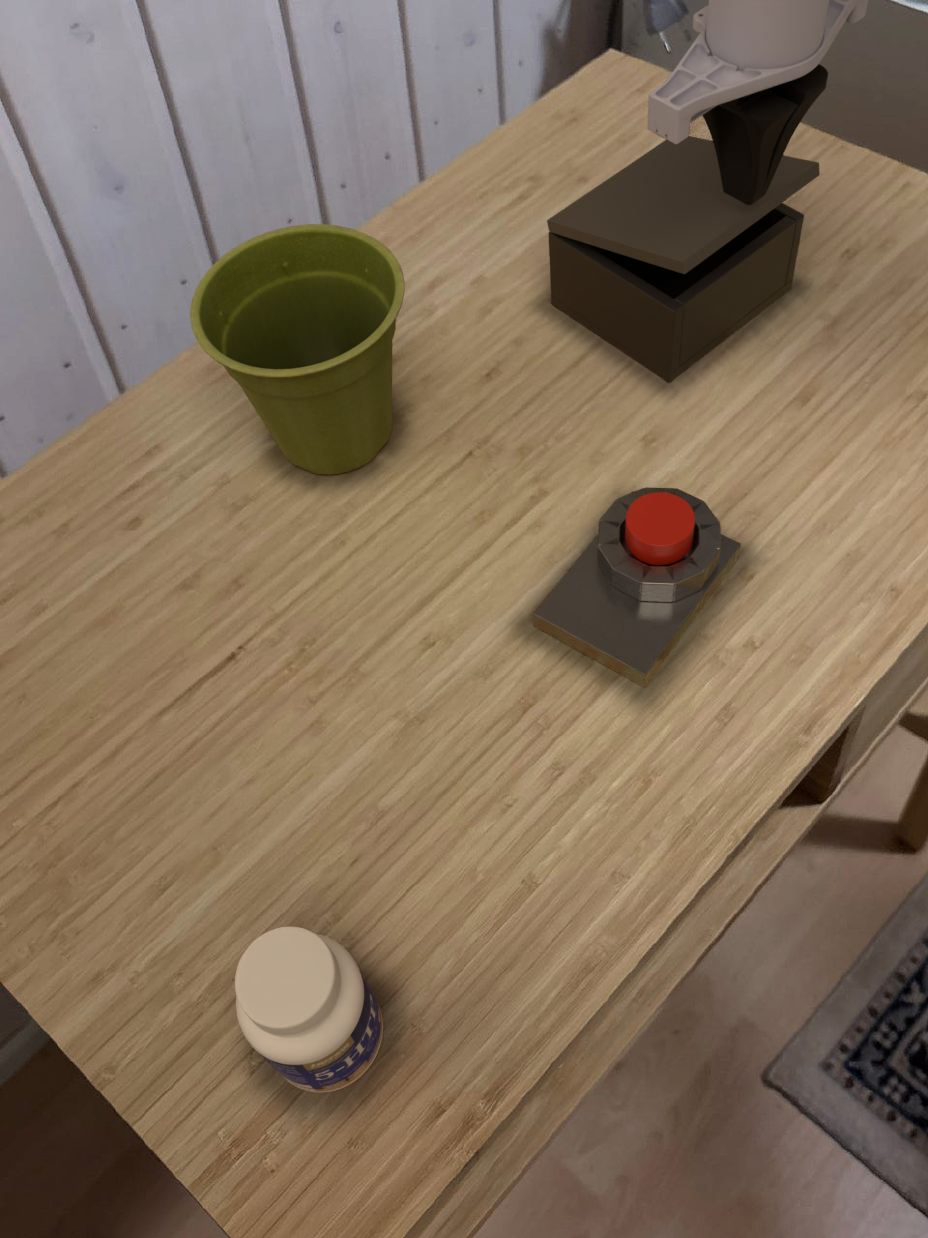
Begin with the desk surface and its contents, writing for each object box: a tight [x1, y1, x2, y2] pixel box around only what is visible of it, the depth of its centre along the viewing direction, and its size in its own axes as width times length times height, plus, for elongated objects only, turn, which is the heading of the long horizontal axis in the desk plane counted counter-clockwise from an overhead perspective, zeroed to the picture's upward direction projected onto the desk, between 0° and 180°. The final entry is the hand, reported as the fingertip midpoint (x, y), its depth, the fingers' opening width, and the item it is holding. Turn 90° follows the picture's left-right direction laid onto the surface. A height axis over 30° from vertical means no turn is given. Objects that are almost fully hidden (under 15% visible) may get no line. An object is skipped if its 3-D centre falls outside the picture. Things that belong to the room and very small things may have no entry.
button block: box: [532, 486, 742, 688], centre depth 62 cm, size 10×7×3 cm
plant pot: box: [189, 223, 406, 475], centre depth 67 cm, size 12×12×11 cm
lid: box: [546, 135, 821, 274], centre depth 69 cm, size 11×12×1 cm
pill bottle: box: [234, 925, 384, 1093], centre depth 48 cm, size 5×5×9 cm
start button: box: [625, 492, 695, 565], centre depth 61 cm, size 4×4×2 cm
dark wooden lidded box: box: [547, 202, 805, 383], centre depth 73 cm, size 11×12×6 cm
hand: (743, 192), depth 65 cm, fingers closed
